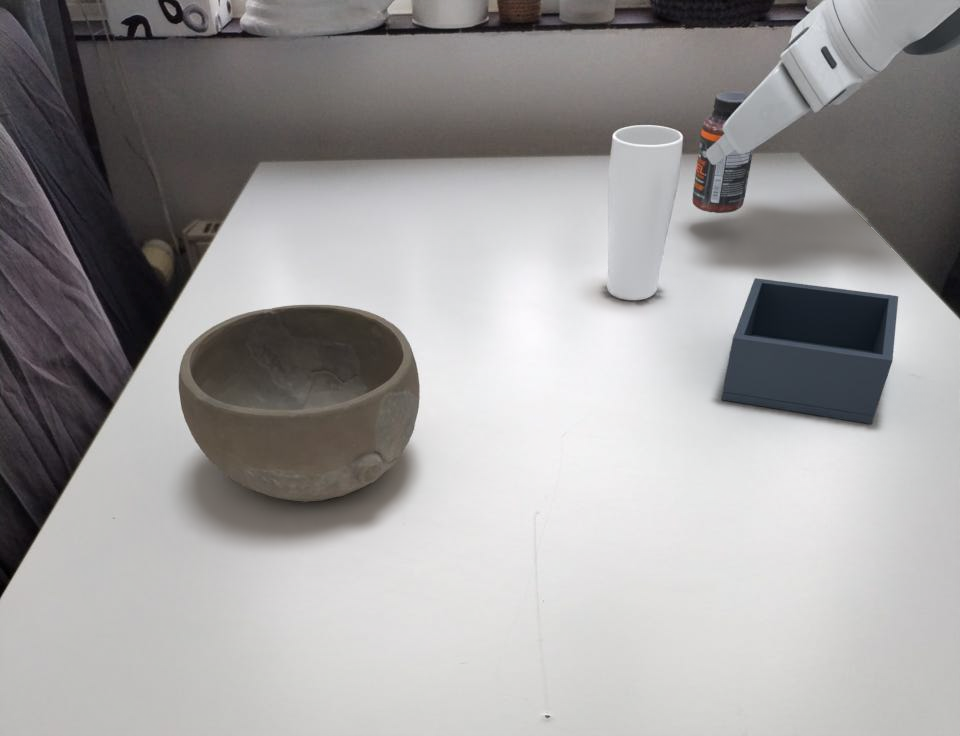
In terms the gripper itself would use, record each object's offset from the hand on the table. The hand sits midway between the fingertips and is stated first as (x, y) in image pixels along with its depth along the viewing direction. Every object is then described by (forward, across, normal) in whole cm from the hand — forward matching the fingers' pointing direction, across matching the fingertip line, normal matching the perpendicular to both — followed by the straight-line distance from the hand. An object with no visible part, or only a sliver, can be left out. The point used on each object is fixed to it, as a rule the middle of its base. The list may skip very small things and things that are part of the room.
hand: (720, 148), depth 100 cm
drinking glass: (+8, +20, +5) cm, 22 cm away
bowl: (+16, +62, -3) cm, 64 cm away
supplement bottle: (+4, 0, +5) cm, 6 cm away
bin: (-7, +31, +20) cm, 37 cm away
